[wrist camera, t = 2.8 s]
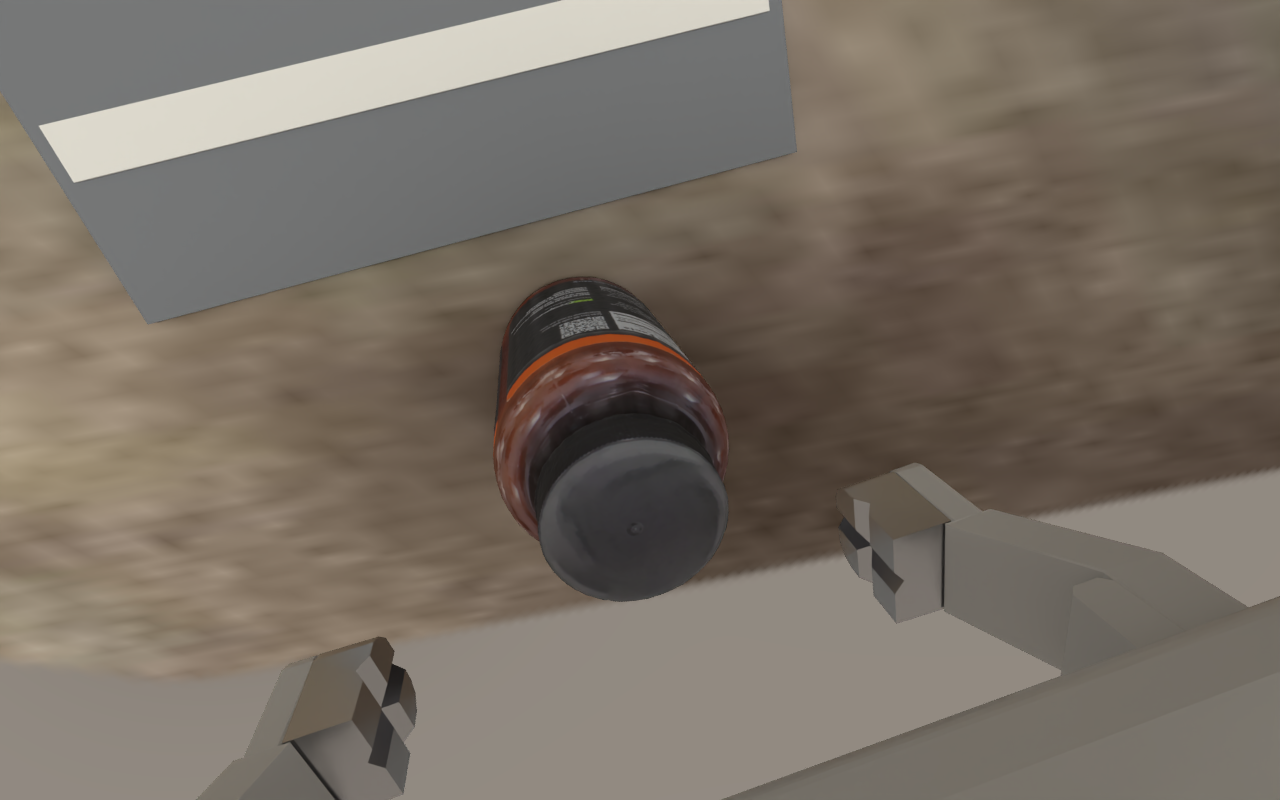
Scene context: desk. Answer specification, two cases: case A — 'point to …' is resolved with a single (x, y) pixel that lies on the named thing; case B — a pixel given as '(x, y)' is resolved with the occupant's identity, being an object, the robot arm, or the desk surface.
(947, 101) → the desk surface
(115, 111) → the mat
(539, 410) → the supplement bottle
